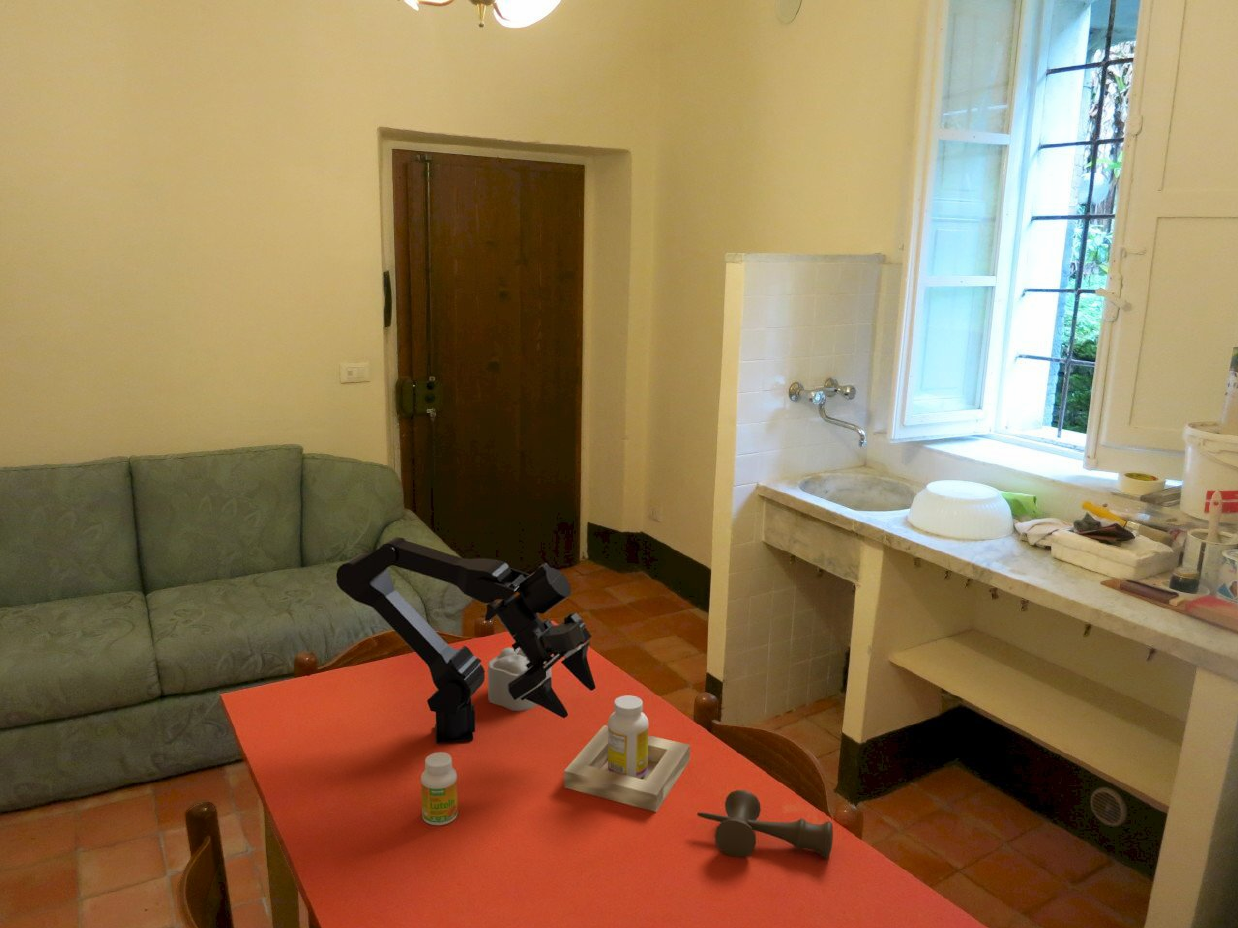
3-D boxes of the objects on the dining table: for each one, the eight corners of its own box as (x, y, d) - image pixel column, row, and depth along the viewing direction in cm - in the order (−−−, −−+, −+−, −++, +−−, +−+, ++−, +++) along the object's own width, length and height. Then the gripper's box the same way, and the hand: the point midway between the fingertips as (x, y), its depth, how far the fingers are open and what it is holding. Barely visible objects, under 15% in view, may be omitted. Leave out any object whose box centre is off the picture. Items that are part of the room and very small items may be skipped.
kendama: (829, 879, 131) (689, 850, 136) (831, 839, 140) (701, 813, 145) (833, 841, 130) (692, 813, 135) (835, 803, 139) (703, 779, 144)
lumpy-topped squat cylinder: (481, 699, 179) (480, 657, 177) (522, 673, 189) (522, 634, 187) (523, 714, 173) (523, 672, 171) (564, 687, 184) (564, 647, 182)
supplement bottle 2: (644, 760, 158) (646, 691, 155) (650, 782, 152) (652, 711, 149) (605, 761, 158) (606, 692, 154) (609, 784, 151) (610, 712, 148)
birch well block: (564, 787, 151) (564, 770, 150) (604, 739, 165) (604, 724, 164) (656, 811, 145) (656, 794, 144) (689, 760, 159) (690, 744, 158)
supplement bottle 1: (427, 830, 139) (425, 772, 137) (418, 810, 144) (415, 754, 141) (462, 820, 142) (461, 763, 139) (451, 801, 146) (450, 746, 144)
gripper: (524, 630, 145) (583, 713, 144) (583, 583, 160) (637, 657, 159) (482, 659, 151) (539, 738, 150) (544, 611, 166) (595, 683, 165)
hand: (580, 702), depth 156 cm, fingers open, 9 cm apart
